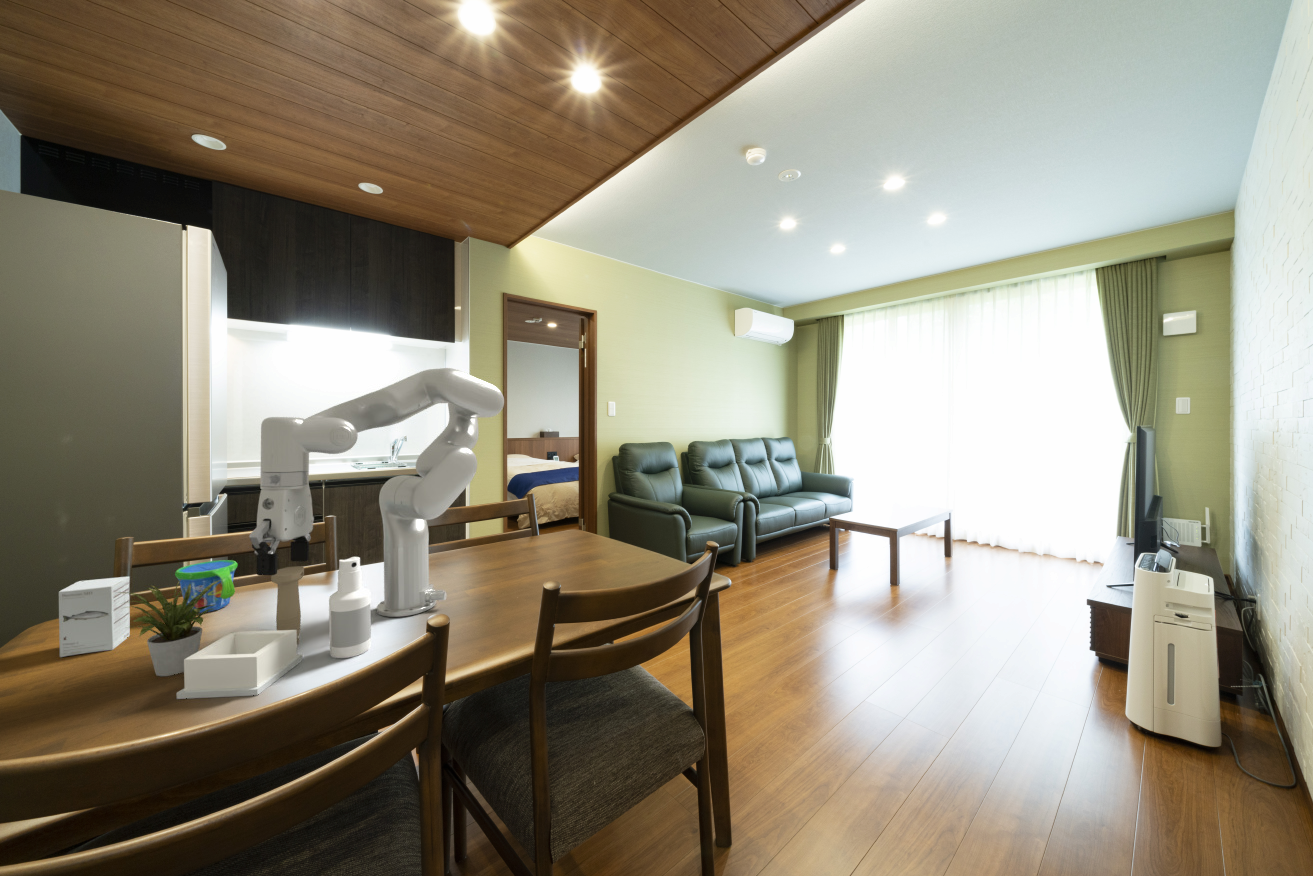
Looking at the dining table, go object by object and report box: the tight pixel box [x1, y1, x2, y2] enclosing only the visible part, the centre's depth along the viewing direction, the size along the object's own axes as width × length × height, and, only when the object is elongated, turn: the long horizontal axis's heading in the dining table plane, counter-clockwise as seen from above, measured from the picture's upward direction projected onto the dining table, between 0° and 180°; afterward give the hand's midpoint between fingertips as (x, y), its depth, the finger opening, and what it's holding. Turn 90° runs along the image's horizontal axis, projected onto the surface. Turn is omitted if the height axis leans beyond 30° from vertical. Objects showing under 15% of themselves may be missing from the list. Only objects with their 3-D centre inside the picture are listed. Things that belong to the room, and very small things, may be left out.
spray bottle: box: [328, 556, 372, 659], centre depth 95 cm, size 7×7×18 cm
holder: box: [176, 629, 304, 700], centre depth 85 cm, size 12×12×6 cm
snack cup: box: [174, 559, 238, 615], centre depth 115 cm, size 16×10×10 cm
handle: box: [270, 565, 305, 646], centre depth 97 cm, size 5×6×15 cm
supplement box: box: [58, 576, 131, 658], centre depth 96 cm, size 7×7×13 cm
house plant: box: [118, 578, 220, 677], centre depth 87 cm, size 14×14×16 cm
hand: (284, 567), depth 96 cm, fingers open, 9 cm apart
